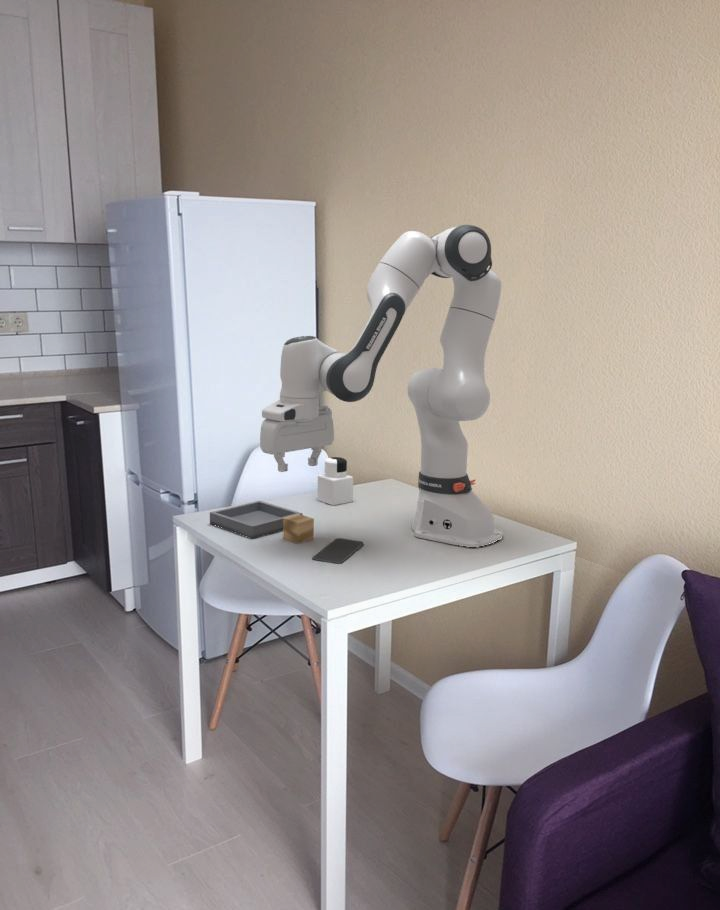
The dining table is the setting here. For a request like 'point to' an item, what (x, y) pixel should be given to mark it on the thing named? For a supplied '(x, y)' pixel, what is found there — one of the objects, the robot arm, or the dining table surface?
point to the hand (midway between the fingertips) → (298, 468)
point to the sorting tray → (252, 518)
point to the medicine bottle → (335, 482)
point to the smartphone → (338, 551)
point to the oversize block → (298, 528)
